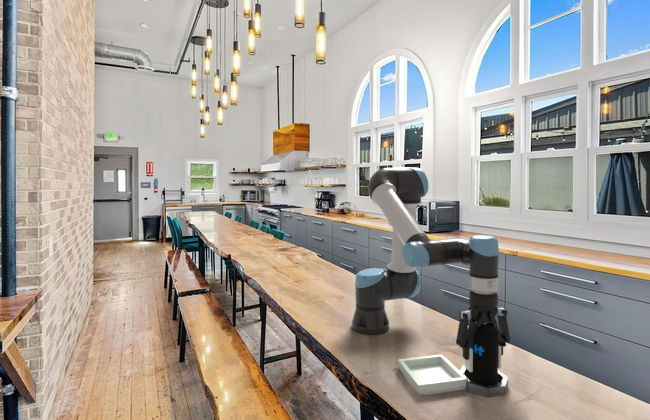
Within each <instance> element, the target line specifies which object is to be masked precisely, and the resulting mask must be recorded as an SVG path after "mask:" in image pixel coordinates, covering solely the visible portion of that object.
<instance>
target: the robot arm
mask: <svg viewBox="0 0 650 420" xmlns="http://www.w3.org/2000/svg"><path fill="white" fill-rule="evenodd" d="M367 190H368V191H367V192H368V196H369V198H370V200H371V201H372V203H373V204H375V205H376V206H378V207H379V209H380V210H381V212H382V213H383V214H384V216H385V218H386V220H387V221H388V223H389V224H390V226H391V227H392V242H391V243H392V244H391V260H390V262H389V263H387V266H386V271H384V269H382V268H379V267H373V268H372V267H369V268H364V269H362V270H360V271H358V272H357V273H356V274H355V283H354V287H355V288H354V289H355V310H354V314H353V316H352V319H351V328H352V330H353V331H355V332H357V333H359V334H364V335H380V334H381V335H382V334H383V333H386V332H388V331H389V330H390V321H389V318H388V314H387V312H386V310H385V309H386V308H385V305H386V304H385V303H386V302H387V301H392V300H394V301H395V300H402V299H409V298H413V297H415V296H417V295H418V294H419V292H420V290H421V286H422V279H421V275H420V272H419V270H417V268H421V269H422V268H426V267H427V268H428V267H435V266H436V267H437V266H449V265H457V264H461V265H465V266H467V267H469V271H468V273H469V279H468V288H469V289H470V290H469V292H468V293H469V297H468V298H469V299H468V301H469V308H468V310H464V311H463V310H460V311H459V312H458V314H459V323H458V329H457V335H456V340H455V344H456V345H457V346H459V348H461V349H462V358H463V359H464V366H465V368H466V369H467V370H468V371H470V372H473V349H471V348H470V347H471V345H472V342H473V340H474V335H473V333H475V331H476V330H477V329H478V328H480V326H481V324H484V323H488V324H490V325H492V326H493V327H494V328H495V329H496V330H497V331H498V332H499V335H498V369H502V356H503V355H504V348H505V347H506V346H507V343H508V344H509V343H510V342H511V336H510V333H509V332H510V331H509V325H508V320H507V316H508V310H507V309H506V308H504V307H502V306H499V307H498V305H499V293H498V291H499V258H500V257H499V255H500V249H499V240H498V238H497V237H496V236H492V235H483V234H481V235H480V234H479V235H478V234H477V235H472V236H470V238H469V239H466V238H461V237H458V236H456V237H455V236H449V237H446V238H445V239H437V240H436V239H435V240H431V239H430V238H429V236H428V235H427V234H426V233H425V231H424V230H423V228H422V227H421V226H420V225H419V223H418V222H417V220H416V218H417V207H418V206H419V205H421V204H422V198H423V197H425V196H426V195H427V193H428V192H429V179H428V177H427V174H426V173H425V172H424V170H422V169H421V168H419V167H410V166H409V167H407V166H405V167H403V166H402V167H384V168H380V169H378V170H377V171H375V172H374V173H373V174H372V175H371V177H370V178H369V180H368V186H367ZM470 316H471V317H470ZM496 317H497V319H496Z"/></svg>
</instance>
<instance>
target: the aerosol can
mask: <svg viewBox="0 0 650 420" xmlns="http://www.w3.org/2000/svg"><path fill="white" fill-rule="evenodd" d="M473 335H474V340H473V342H472V345H471V347H470V348H471V349H473V372H470V371H468V377H467V378H468V379H469V380H470V381H471V382H475V383H479V384H482V385H486V386H490V385H497V384H499V382H498V370H499V368H498V335H499V332H498V331H497V330H496V329H495V328H494V327H493V326H492V325H490V324H488V323H484V324H481V326H480V328H478V329H477V330H476V331H475V333H473Z"/></svg>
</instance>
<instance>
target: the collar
mask: <svg viewBox="0 0 650 420" xmlns="http://www.w3.org/2000/svg"><path fill="white" fill-rule="evenodd" d="M459 371H460V372H462V373H463V374H464V375H465V376H466V377H467V376H468V370H467V369H466V368H465V365H462V367H461V368H460V369H459ZM508 388H509V377H508V376H507V375H506V374H504V372H501V371H500V369H498V384H497V385H490V386H486V385H482V384H479V383H475V382H471V381H470V380H469V379H468V381H466V389H465V390H466V391H467V392H469V393H472V394H476V395H479V396H483V397H486V398H492V397H499V396H506V394H507V391H508Z"/></svg>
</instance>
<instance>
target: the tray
mask: <svg viewBox="0 0 650 420" xmlns="http://www.w3.org/2000/svg"><path fill="white" fill-rule="evenodd" d="M397 369H398V371H399V372H400V373H401V374H402V377H404V379H405V380H406V381H407V382H408V384H409V385H410V387H411V388H412V389H413V391H414V392H415V393H416V395H417V396H418V397H420V396H421V397H422V396H428V395H434V394H435V395H436V394H442V393H450V392H457V391H465V390H466V381H468V377H467V376H465V375H464V374H463V373H462V372H460V369H458V368H457V367H456V366H455V365H454V364H453V363H452V362H451V361H450V360H449V359H448V358H447V357H445V356H444V354H441V353H440V354H433V355H425V356H417V357H416V356H415V357H408V358H399V359H397Z"/></svg>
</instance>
